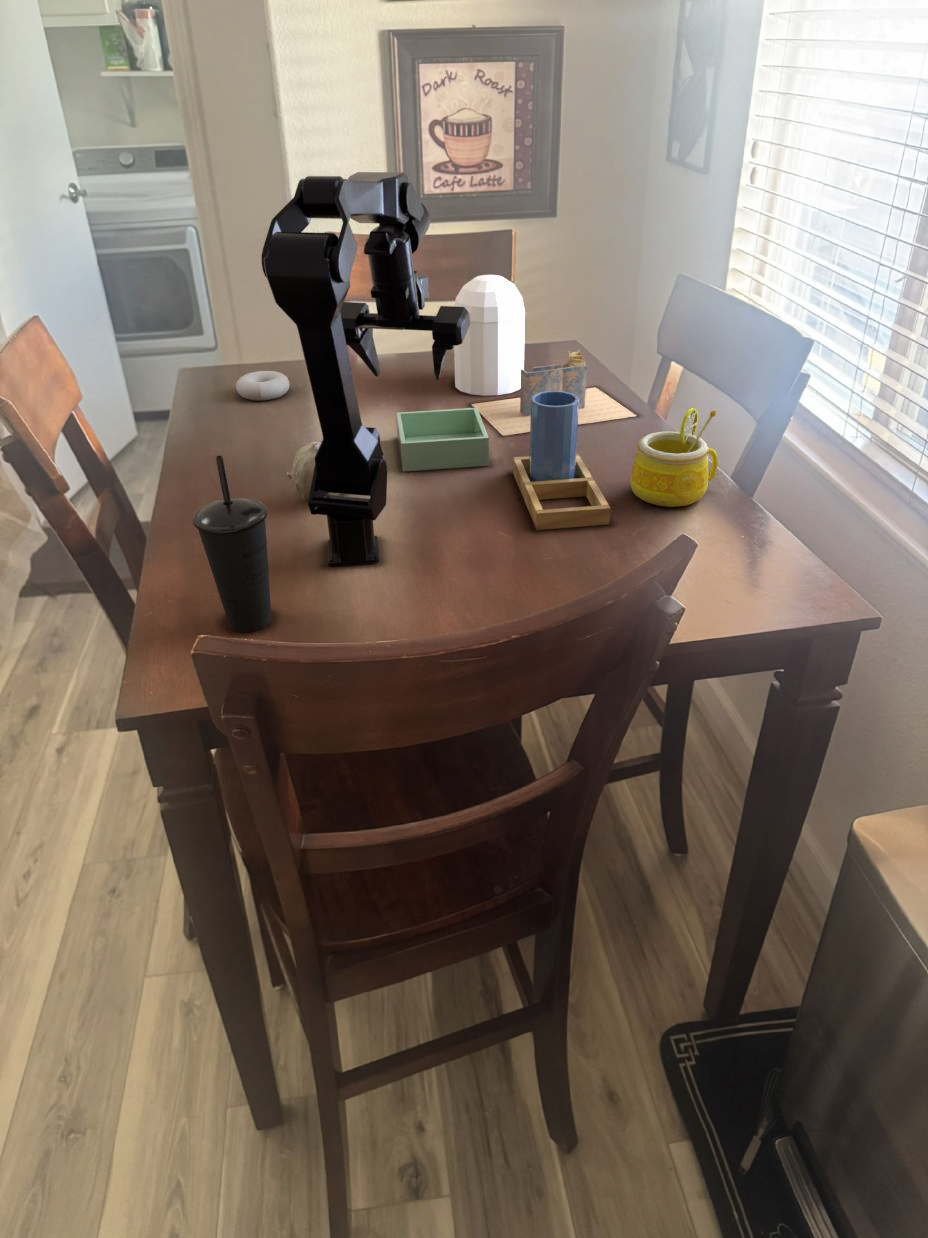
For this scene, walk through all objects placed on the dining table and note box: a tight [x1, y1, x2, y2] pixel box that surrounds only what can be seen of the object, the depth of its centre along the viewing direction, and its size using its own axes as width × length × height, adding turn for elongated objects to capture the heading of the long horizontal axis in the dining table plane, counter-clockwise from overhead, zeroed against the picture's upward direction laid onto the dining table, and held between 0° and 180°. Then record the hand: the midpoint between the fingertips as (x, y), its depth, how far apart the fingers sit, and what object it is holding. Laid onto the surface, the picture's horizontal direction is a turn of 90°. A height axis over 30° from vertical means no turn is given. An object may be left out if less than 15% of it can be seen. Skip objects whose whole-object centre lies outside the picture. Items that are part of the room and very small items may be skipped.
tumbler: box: [528, 391, 579, 482], centre depth 123 cm, size 7×7×13 cm
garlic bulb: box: [286, 441, 349, 501], centre depth 122 cm, size 9×8×10 cm
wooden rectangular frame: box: [512, 452, 611, 531], centre depth 123 cm, size 19×10×2 cm, turn 7°
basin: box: [395, 407, 490, 472], centre depth 137 cm, size 13×13×5 cm
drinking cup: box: [192, 455, 272, 633], centre depth 92 cm, size 8×8×20 cm
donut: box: [235, 370, 291, 402], centre depth 162 cm, size 10×4×10 cm
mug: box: [629, 407, 719, 508], centre depth 120 cm, size 13×11×12 cm
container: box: [453, 274, 526, 397], centre depth 160 cm, size 14×13×20 cm
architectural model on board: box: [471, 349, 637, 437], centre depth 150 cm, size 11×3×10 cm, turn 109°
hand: (407, 376), depth 125 cm, fingers open, 9 cm apart
